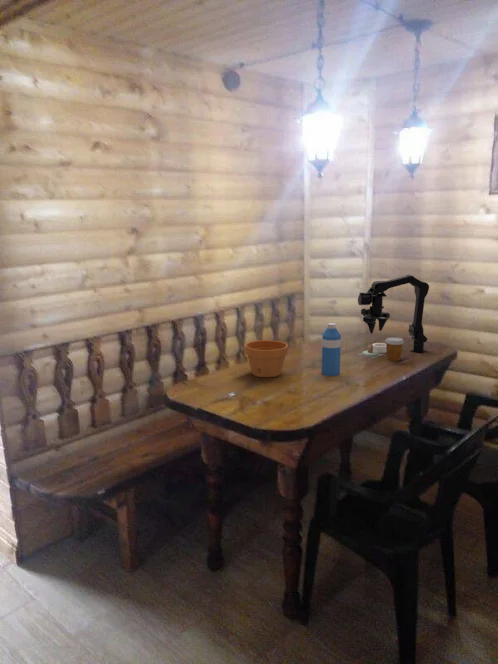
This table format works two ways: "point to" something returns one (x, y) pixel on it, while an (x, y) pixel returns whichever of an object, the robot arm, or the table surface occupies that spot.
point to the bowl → (379, 347)
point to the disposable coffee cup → (394, 348)
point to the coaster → (370, 356)
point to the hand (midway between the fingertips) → (375, 332)
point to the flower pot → (266, 357)
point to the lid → (370, 351)
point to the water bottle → (331, 351)
